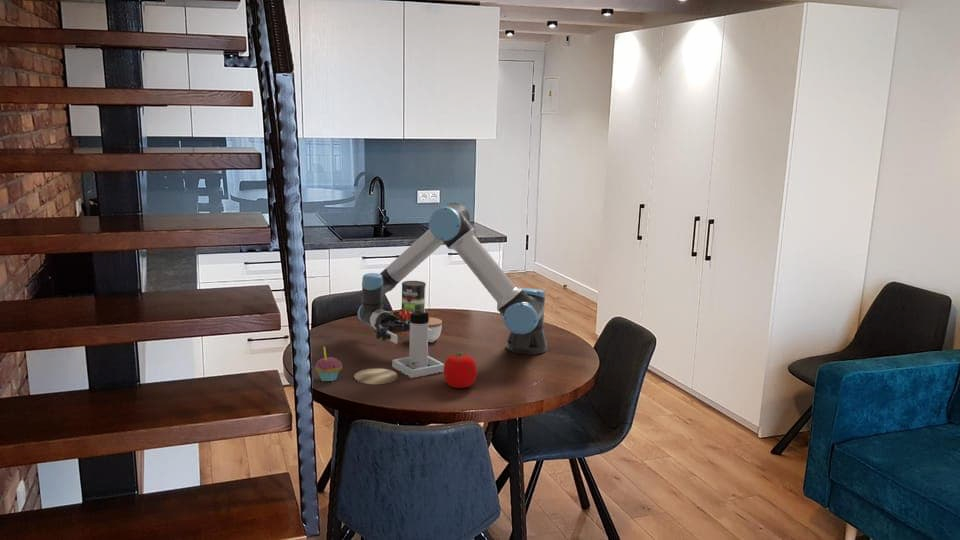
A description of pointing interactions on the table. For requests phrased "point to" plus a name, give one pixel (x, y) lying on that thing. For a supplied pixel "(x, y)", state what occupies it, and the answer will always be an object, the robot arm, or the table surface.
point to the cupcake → (328, 367)
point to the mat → (375, 376)
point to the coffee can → (413, 296)
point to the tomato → (460, 370)
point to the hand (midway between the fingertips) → (414, 336)
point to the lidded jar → (434, 328)
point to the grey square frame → (433, 368)
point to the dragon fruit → (402, 315)
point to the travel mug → (418, 340)
